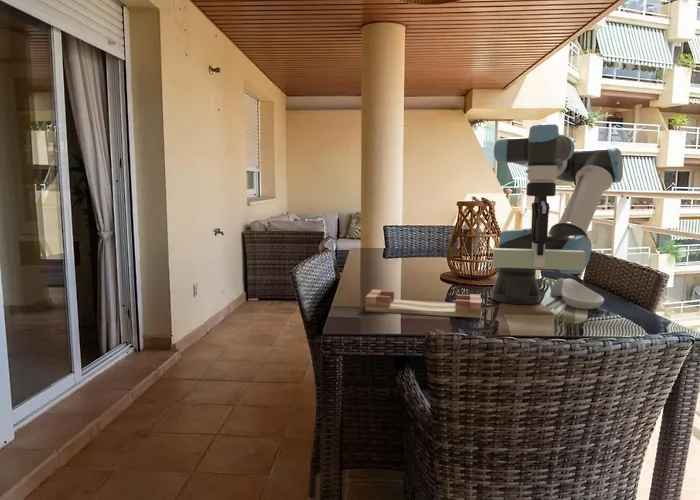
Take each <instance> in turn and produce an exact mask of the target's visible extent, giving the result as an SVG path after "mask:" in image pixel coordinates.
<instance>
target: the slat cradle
mask: <svg viewBox="0 0 700 500" xmlns="http://www.w3.org/2000/svg"><path fill="white" fill-rule="evenodd" d="M364 298H365V301H364V302H365V303H364V305H365V307H364V308H365V310H364V311H365V312H378V313H391V314H392V313H394V314H407V315H410V314H411V315H412V314H413V315H423V316H424V315H429V316H443V317H445V316H446V317H448V316H449V317H457V318H459V317H462V318H479V319H481V317H482V316H481V315H482V297H481V294H480V293H479V294H478V293H477V294H476V293H469V294H458V293H457V294H456V297H455V298H456V299H455V302H444V301H429V300H428V301H425V300H410V299H409V300H407V299H405V300H404V299H395V291H393V290H383V289H380V288H379V289H377V288H373V289H372V290H371V291H370V292H368V294H367V295H366V296H365V297H364Z"/></svg>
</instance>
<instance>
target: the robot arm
mask: <svg viewBox="0 0 700 500" xmlns="http://www.w3.org/2000/svg"><path fill="white" fill-rule="evenodd" d="M575 146H576V145H575V142H574V140H573V139H572V138H571V137H569V136H567V135H564V134H560V132H559V126H558V125H557V124H555V123H541V124H540V123H538V124H534V125H532V126H530V128H529V133H528V136H518V137H504V138H499V139H497V140H496V141H495V144H494V146H493V155H494V156H493V157H494V158H495V161H496V162H498V163H500V164H508V163H509V164H510V163H511V164H512V163H513V164H517V165H519V166H522V167H527V169H525V174H527V177H526V178H527V181H529V182H528V183H526V196H528V197H534V200H533V202H532V203H531V228H529V227H528V228H517V229H508V230H503V231H502V232H500V234H499V239H498V240H499V241H498V248H511V249H534V267H544V262H545V249H548V250H582V251H584V252H586V255H585V268H587V266H588V263H589V262H590V259H591V254H592V241H591V239H590V238H589V235H588V234H587V233H588V232H587V231H588V230H589V227H590V226H591V225H590V224H591V222H592V220H593V218H594V215H595V213H596V210H597V208H598V206H599V203H600V200H601V198H602V196H603V194H604V192H606V191H608V190H609V189H611V187H612V184H613V183H614V184H615V183H616V184H617V183H620V182H621V181H622V180H623V173H624V171H623V169H624V166H623V165H624V162H623V156H622V152H621V150H620V149H619V148H618V147H608V146H607V147H602V148H601V147H599V148H597V147H596V148H580V149H579V148H576V147H575ZM557 180H558V181H561V182H567V183H576V185H575V187H574V188H573V191H572V194H571V196H570V198H569V199H568V202H567V204H566V206H565V208H564V211H563V213H562V215H561V217H560V220H559V221H558V222H557V223H555V224H553V225H552V226H551V227H550V229H548V228H549V215H550V214H549V213H550V209H551V208H550V203H548V198H547V197H554V196H555V195H556V186H557V184H556V182H555V181H557ZM548 230H549V231H548ZM497 269H498V270H497V277H496V278H495V279H496V280H495V281H494V285H493V287H492V290H491V299H492V300H493V301H496V302H498V303H499V302H500V303H505V304H510V305H511V304H512V305H534V304H538V303H540V302H541V292H540V288H539V285H538V281H537V275H536V272H537V271H543V272H552V273H561V274H563V275H565V274H567V275H568V274H569V275H570V274H572V275H573V274H575V275H576V274H581V272H583V271H584V270H560V269H530V268H501V267H497Z"/></svg>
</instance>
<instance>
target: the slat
mask: <svg viewBox="0 0 700 500" xmlns="http://www.w3.org/2000/svg"><path fill="white" fill-rule="evenodd" d="M492 249H493V250H492V251H493V252H492V267H493V268H498V267H501V268H530V269H560V270H583V271H585V270H586V267H585V255H586V252H584V251H582V250H548V249H545V262H544V267H534V249H511V248H499V247H493V248H492Z"/></svg>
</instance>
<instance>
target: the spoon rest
mask: <svg viewBox="0 0 700 500" xmlns="http://www.w3.org/2000/svg"><path fill="white" fill-rule="evenodd" d="M549 295H550V296H555V297H557V296H558V297H559V296H562V300H563V301H564V302H565V304H567V305H568V306H569V307H570V308H573V309H576V310H584V311H586V310H587V311H590V310H593V309H597V308H598V307H600V306H601V305H603V303H605V298H604V296H602V295H600V294H599V293H597V292H595V291H593V290H592V289H590V288H589V287H587V286H585V285H583V284H581V283H580V282H578V281H576V280H575V279H573V278H561V277H560V278H557V279H556V280H555V281H554V282H553V284H552V286H551V288H550V293H549Z"/></svg>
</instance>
